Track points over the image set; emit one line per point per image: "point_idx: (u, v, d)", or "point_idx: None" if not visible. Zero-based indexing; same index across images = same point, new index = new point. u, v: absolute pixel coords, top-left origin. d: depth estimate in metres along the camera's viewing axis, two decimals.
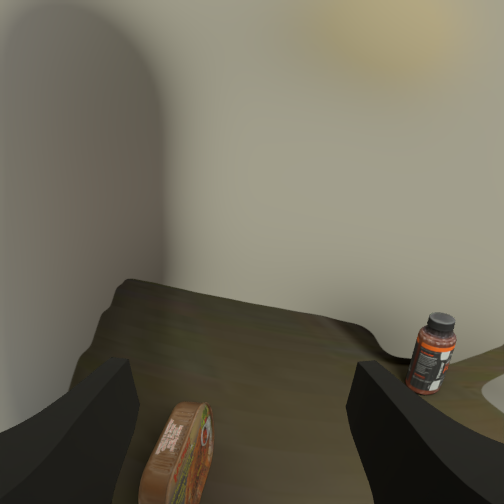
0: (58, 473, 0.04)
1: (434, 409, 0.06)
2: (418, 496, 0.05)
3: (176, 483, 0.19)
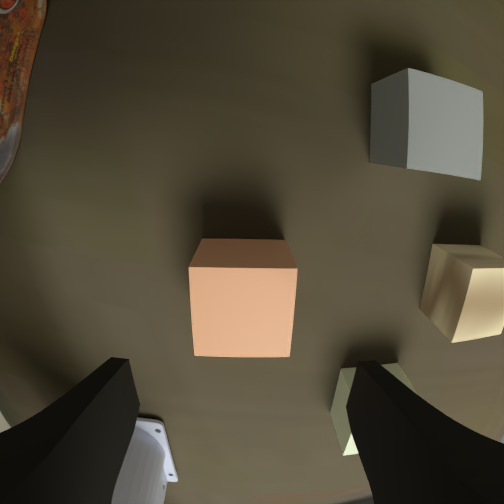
0: (58, 473, 0.04)
1: (434, 409, 0.06)
2: (418, 496, 0.05)
3: None
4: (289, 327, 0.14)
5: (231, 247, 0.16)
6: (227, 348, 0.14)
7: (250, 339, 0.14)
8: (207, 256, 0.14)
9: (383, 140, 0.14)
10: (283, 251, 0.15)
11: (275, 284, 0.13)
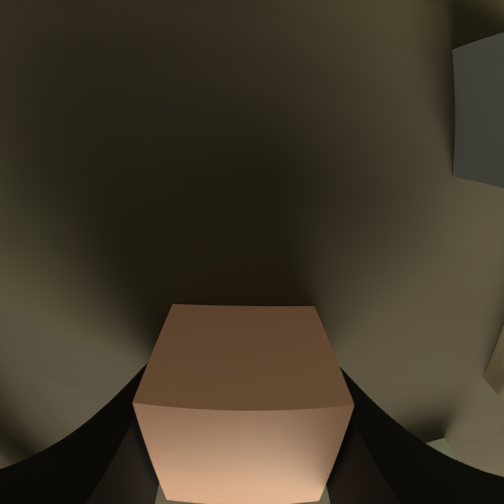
0: (114, 489, 0.04)
1: (389, 418, 0.06)
2: None
3: None
4: (324, 475, 0.07)
5: (222, 336, 0.08)
6: (219, 497, 0.07)
7: (256, 490, 0.07)
8: (173, 365, 0.07)
9: (489, 142, 0.07)
10: (318, 345, 0.08)
11: (308, 430, 0.06)
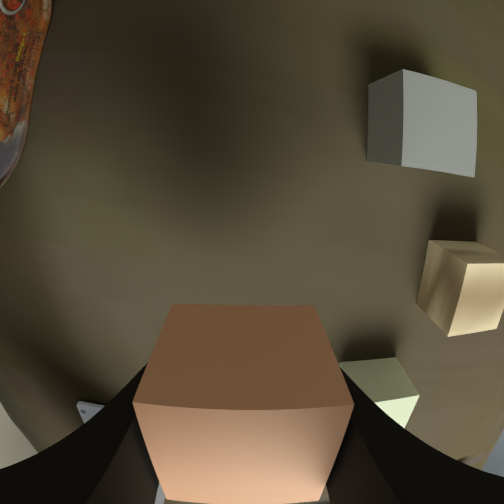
0: (114, 489, 0.04)
1: (389, 419, 0.06)
2: None
3: None
4: (324, 475, 0.07)
5: (222, 335, 0.08)
6: (219, 497, 0.07)
7: (256, 490, 0.07)
8: (173, 364, 0.07)
9: (379, 139, 0.15)
10: (318, 345, 0.08)
11: (308, 430, 0.06)
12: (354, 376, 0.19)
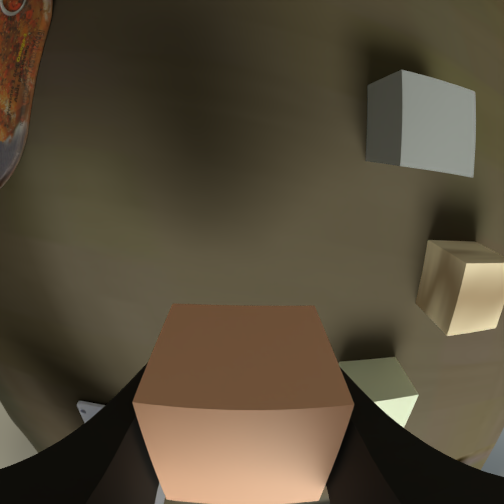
0: (114, 489, 0.04)
1: (389, 418, 0.06)
2: None
3: None
4: (324, 475, 0.07)
5: (222, 335, 0.08)
6: (219, 497, 0.07)
7: (256, 490, 0.07)
8: (173, 364, 0.07)
9: (379, 139, 0.15)
10: (318, 345, 0.08)
11: (308, 430, 0.06)
12: (354, 375, 0.19)
